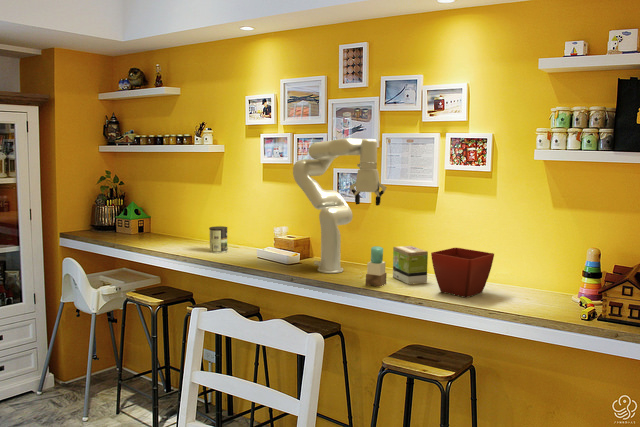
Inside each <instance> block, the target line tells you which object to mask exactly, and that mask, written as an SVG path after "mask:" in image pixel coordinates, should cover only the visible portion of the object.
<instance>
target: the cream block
mask: <svg viewBox="0 0 640 427" xmlns="http://www.w3.org/2000/svg"><path fill="white" fill-rule="evenodd" d="M386 263H387V262H386V261H383V262H382V263H379V264H376V263H372V262H371V261H369V262H367V267H366V268H367V270H366V274H371V275H378V276H380V275H382V274H384V273H386Z"/></svg>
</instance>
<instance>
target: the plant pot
mask: <svg viewBox="0 0 640 427" xmlns="http://www.w3.org/2000/svg"><path fill="white" fill-rule="evenodd" d="M430 256H431V263H432V267H433V271H434V276H435V280H436V281H437V282H436V283H437V286H438V289H439V290H440V292H441V293H444V292H446V293H445V294H448V293H450V295H452V294H455V295H454V296H457V295H459V296H458V297H461V296H463V297H462V298H469V296H470V297H472V295H473V296H475V295H478V294H482V292H483V291H484V289H485V286H486V285H487V284H486V283H487V282H488V279H489V276H490V273H491V269H492V266H493V262H494V257H495V253H493V252H489V251H481V250H475V249H468V248H463V247H450V248H447V249H442V250H438V251H437V250H436V251H433V252H431V255H430Z"/></svg>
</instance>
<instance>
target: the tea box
mask: <svg viewBox="0 0 640 427" xmlns="http://www.w3.org/2000/svg"><path fill="white" fill-rule="evenodd" d="M392 249H393V252H392V254H393V255H392V256H393V257H392V278H394V279H396V280H399V281H400V282H403V283H405V284H406V283H408V284H407V285H414V284H413V283H420V284H426V283H428V261H429V260H428V259H429V257H428V253H429V252H428V250H424V249H421V248H420V247H419V248H418V247H416V246H413V245H403V246H393V248H392Z"/></svg>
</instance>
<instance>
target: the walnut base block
mask: <svg viewBox="0 0 640 427" xmlns="http://www.w3.org/2000/svg"><path fill="white" fill-rule="evenodd" d="M384 284H385V285H386V284H387V272H385V273H384V274H382V275H380V276H378V275H371V274H367V273H365V286H368V285H375V286H374V287H376V286H382V285H383V286H385V285H384ZM383 286H382V287H383Z"/></svg>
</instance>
